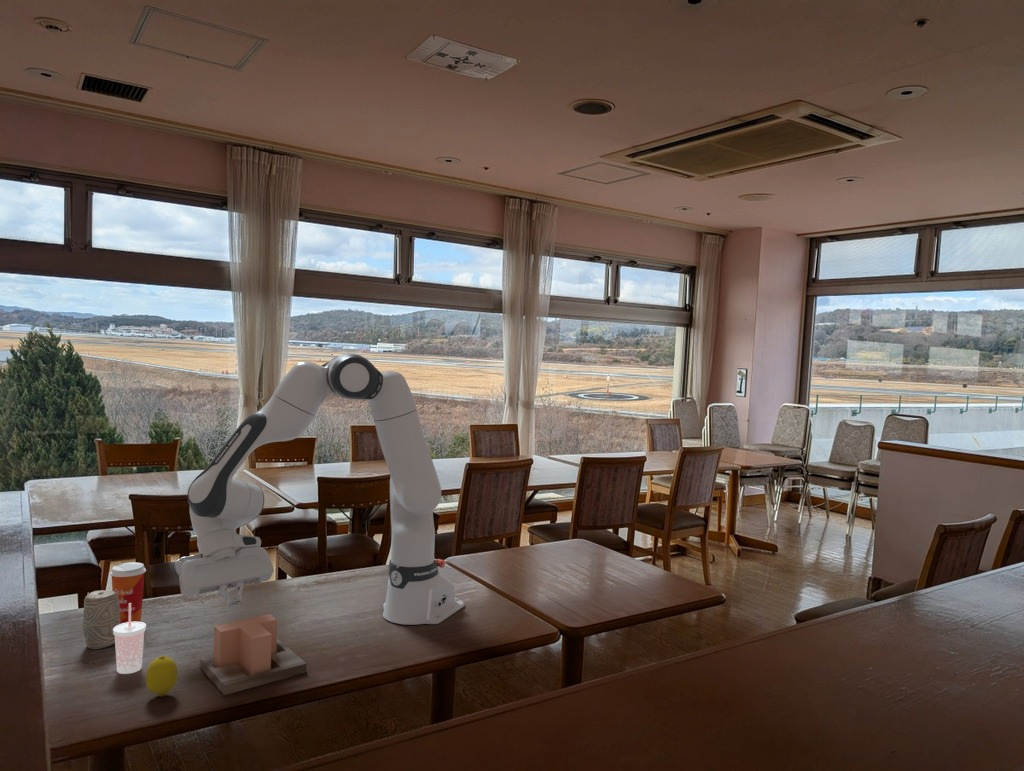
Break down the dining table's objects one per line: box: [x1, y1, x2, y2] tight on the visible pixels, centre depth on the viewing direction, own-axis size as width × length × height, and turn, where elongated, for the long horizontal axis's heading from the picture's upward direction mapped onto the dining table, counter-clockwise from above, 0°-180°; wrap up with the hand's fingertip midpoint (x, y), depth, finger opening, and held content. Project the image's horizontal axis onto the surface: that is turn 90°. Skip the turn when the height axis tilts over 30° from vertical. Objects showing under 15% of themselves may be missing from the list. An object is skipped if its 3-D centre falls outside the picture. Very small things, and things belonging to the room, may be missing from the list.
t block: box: [213, 613, 278, 676], centre depth 153 cm, size 11×12×9 cm
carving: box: [82, 589, 120, 650], centre depth 162 cm, size 6×8×12 cm
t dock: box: [199, 639, 307, 696], centre depth 153 cm, size 15×17×2 cm
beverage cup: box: [113, 603, 147, 675], centre depth 151 cm, size 6×6×14 cm
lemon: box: [145, 655, 178, 697], centre depth 141 cm, size 6×6×8 cm
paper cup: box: [109, 561, 147, 624], centre depth 175 cm, size 8×8×14 cm
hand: (235, 603), depth 162 cm, fingers closed
